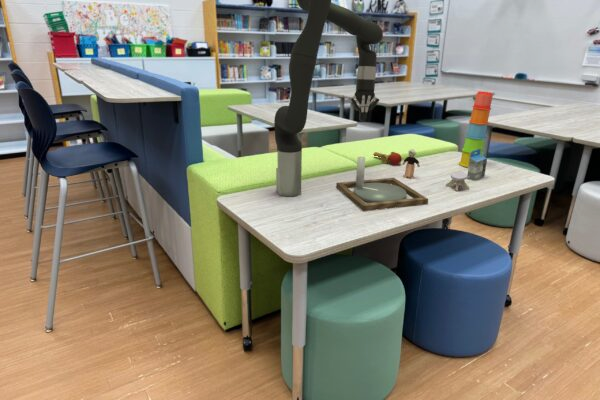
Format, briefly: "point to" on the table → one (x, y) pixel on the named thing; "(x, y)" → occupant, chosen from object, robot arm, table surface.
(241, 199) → the table surface
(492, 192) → the table surface
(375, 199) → the dial
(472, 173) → the label tape box
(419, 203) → the dial frame
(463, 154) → the stacking cups
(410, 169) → the grandmother figurine
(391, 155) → the kendama
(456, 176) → the tree stump
